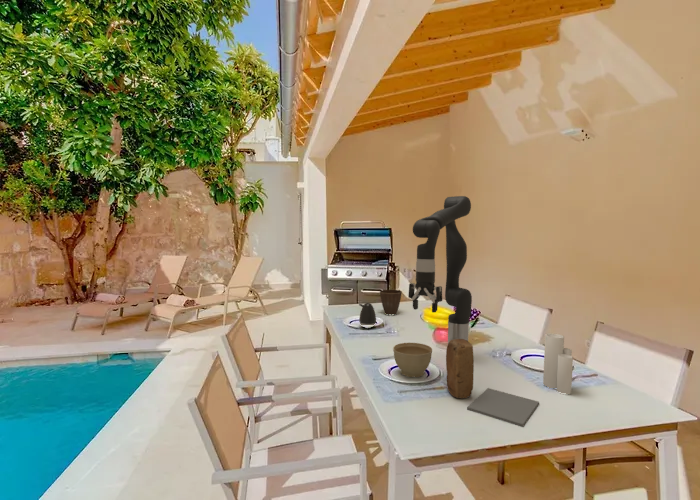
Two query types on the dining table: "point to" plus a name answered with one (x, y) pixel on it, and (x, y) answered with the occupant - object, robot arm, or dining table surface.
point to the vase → (557, 364)
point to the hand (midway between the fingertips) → (424, 310)
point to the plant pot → (390, 300)
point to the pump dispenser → (367, 314)
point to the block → (460, 368)
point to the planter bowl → (412, 358)
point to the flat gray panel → (504, 406)
